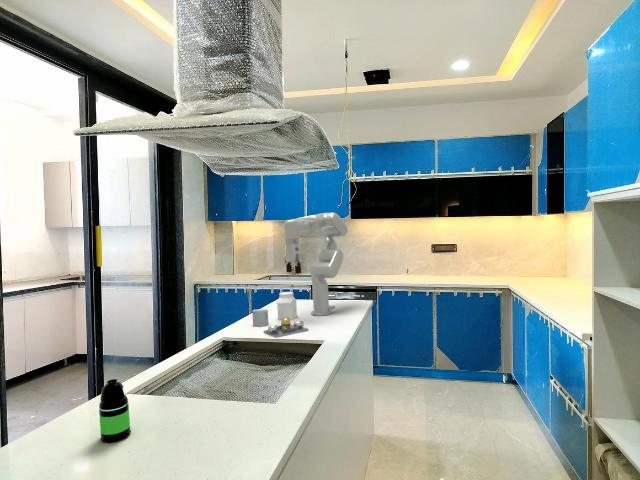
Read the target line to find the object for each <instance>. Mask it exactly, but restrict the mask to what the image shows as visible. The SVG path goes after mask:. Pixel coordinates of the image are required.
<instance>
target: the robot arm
mask: <svg viewBox="0 0 640 480" xmlns="http://www.w3.org/2000/svg"><path fill="white" fill-rule="evenodd" d="M283 224H284V225H283V226H284V240H285V241H284V242H285V243H284V244H285V256H284V263H285V267H286V273H292V272H293V266H292V264H293V263H294V265H295V267H294V269H295V274H301V273H302V268H301V267H302V263H303V262H302V261H303V258H302V251H301V247H300V237H299V234H300V233H306V232H308V231H311V230H312V231H314V230H318V229H320V228H322V229H321V233H322V237H323V244H322V247H321V249H320V251H319V253H318V256H317V260H318V261H315V262H313V263H312V264H311V265H310V267H309V273H310V277H311V286H312V303H313V304H312V305H313V307H312V308H313V310H312V311H311V313H310V314H311V315H312V316H322V317H323V316H328V315H331V314H332V313H333V312H332V310H334V309H336V305H330V301H329V284H328V282H327V280H326V279H333V278H335V277H337V276H338V273H339V272H340V269H341V266H342V265H343V261H344V253H343V251H342V249H340V248H337V246H338V245H337V242H336V239H334V237H336V238H337V237H344V236H346V235H347V234H348V230H349V229H348V226H347V224H346V222H344V220H343V219H342V218H341V216H340V215H339V214H338V213H336V212H322V213H317V214H313V215H312V214H311V215H308V216H303V217H297V218H293V219H287V220H285V221H284V223H283Z"/></svg>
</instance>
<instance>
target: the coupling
mask: <svg viewBox="0 0 640 480" xmlns="http://www.w3.org/2000/svg"><path fill="white" fill-rule="evenodd" d="M291 324H292V323H291V320H290V317H283V318H281V320H280V326H281V330H282V331H284V330H285V329H290V328H291Z"/></svg>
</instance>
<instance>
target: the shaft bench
mask: <svg viewBox="0 0 640 480" xmlns="http://www.w3.org/2000/svg"><path fill="white" fill-rule="evenodd" d="M304 325H305V324H304V321H303V320H299V321H295V322H293V324H292V325H291V328H290V329H285V330H284V331H282V330H281V325H278V324H275V325H271V326H267V330H263V334H265V335H269V336H270V335H271V337H273V338H281V337H285V336H291V335H294V334H295V335H296V334H299V333H304V332H308V331H309V328H308V327H304Z"/></svg>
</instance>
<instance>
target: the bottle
mask: <svg viewBox="0 0 640 480" xmlns="http://www.w3.org/2000/svg"><path fill="white" fill-rule="evenodd" d="M100 393H101V394H100V402H99V407H98V409H99V411H98V412H99V426H100V427H99V428H100V429H99V430H100V441H101V442H102V443H104V444H112V443H113V444H114V443H119V442H121V441H124V440H126V439H127V438H128V437H129V436H130V435H131V433H132V430H131V422H130V421H131V419H130V406H129V405H130V404H129V399H128V397H127V392H126V389H125V386H124V384H122V382H120V381H118V379H117V378H113V379H108V380H107V381H106V384H105V385H104V386H103V387H102V388H101V392H100Z"/></svg>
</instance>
